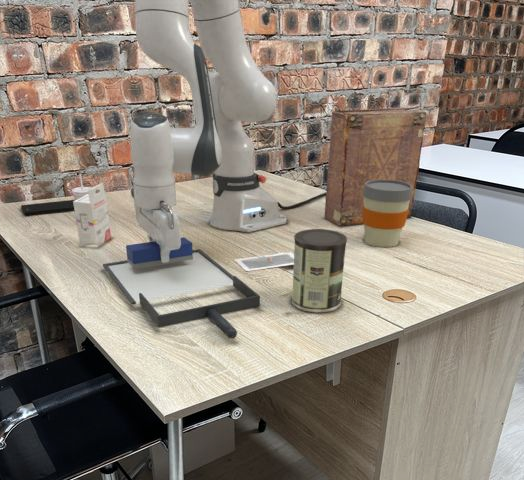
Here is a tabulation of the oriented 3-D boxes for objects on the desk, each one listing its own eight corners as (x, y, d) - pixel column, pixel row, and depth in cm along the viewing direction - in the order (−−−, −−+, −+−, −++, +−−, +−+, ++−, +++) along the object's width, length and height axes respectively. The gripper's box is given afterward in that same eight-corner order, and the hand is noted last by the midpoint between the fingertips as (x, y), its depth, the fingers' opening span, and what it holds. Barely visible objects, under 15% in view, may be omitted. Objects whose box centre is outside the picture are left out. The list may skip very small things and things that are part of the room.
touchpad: (305, 267, 132) (305, 258, 131) (246, 275, 127) (246, 266, 126) (290, 256, 139) (291, 247, 138) (234, 264, 133) (234, 255, 132)
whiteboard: (200, 255, 139) (199, 248, 138) (240, 288, 121) (240, 281, 120) (103, 270, 129) (102, 263, 128) (132, 309, 111) (131, 302, 110)
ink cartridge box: (94, 236, 149) (86, 180, 142) (111, 238, 149) (105, 182, 141) (79, 247, 142) (70, 188, 135) (97, 248, 141) (89, 190, 134)
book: (393, 209, 177) (407, 107, 162) (411, 217, 170) (427, 111, 155) (323, 218, 168) (332, 110, 153) (339, 227, 161) (350, 114, 146)
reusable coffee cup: (413, 241, 151) (422, 185, 143) (388, 252, 143) (397, 193, 135) (374, 231, 158) (381, 177, 151) (348, 241, 150) (354, 184, 142)
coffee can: (329, 290, 122) (334, 226, 114) (348, 310, 113) (355, 243, 106) (284, 294, 119) (287, 230, 112) (300, 315, 110) (305, 247, 103)
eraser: (185, 253, 133) (184, 237, 131) (193, 259, 129) (192, 242, 127) (127, 262, 127) (125, 245, 125) (134, 268, 123) (132, 251, 121)
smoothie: (71, 225, 157) (64, 174, 150) (86, 219, 163) (79, 169, 156) (90, 228, 155) (83, 176, 148) (104, 222, 161) (98, 172, 154)
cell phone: (87, 208, 171) (86, 205, 171) (25, 215, 164) (24, 212, 163) (81, 201, 178) (80, 198, 178) (21, 208, 171) (20, 205, 170)
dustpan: (140, 308, 112) (138, 293, 110) (235, 290, 120) (234, 275, 119) (178, 358, 95) (177, 340, 94) (284, 332, 104) (285, 316, 102)
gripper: (186, 206, 114) (189, 270, 121) (154, 184, 130) (159, 241, 136) (156, 210, 111) (161, 274, 118) (128, 187, 127) (133, 245, 134)
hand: (159, 256), depth 127 cm, fingers closed on eraser, 5 cm apart
